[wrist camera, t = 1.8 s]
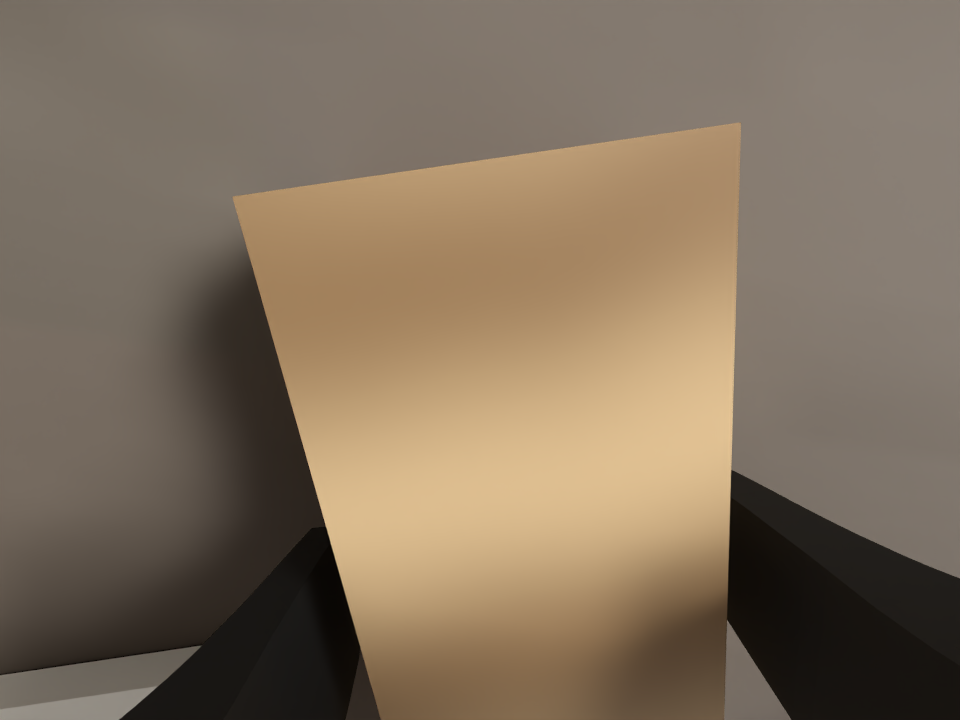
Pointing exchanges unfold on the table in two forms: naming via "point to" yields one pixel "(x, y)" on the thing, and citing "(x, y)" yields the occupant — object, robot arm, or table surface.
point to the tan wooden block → (521, 420)
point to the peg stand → (87, 687)
